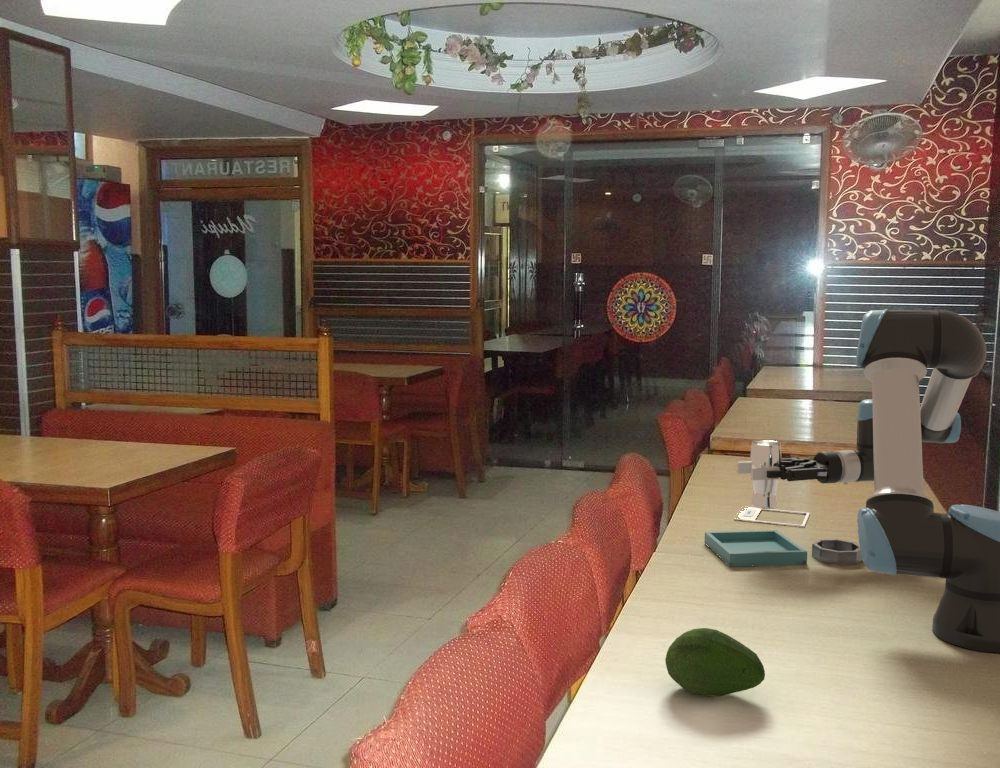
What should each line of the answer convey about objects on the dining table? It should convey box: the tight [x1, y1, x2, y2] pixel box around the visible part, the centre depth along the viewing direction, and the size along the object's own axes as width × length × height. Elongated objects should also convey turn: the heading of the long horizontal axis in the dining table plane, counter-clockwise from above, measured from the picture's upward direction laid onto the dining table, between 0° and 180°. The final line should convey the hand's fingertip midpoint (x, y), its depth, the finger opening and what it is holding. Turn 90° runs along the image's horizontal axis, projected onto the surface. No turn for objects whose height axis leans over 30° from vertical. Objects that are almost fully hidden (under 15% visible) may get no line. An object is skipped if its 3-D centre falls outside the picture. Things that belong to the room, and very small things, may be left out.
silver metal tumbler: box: [749, 439, 782, 509], centre depth 217 cm, size 7×7×15 cm
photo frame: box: [734, 506, 811, 529], centre depth 252 cm, size 15×1×18 cm
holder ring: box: [811, 538, 863, 566], centre depth 216 cm, size 10×10×3 cm
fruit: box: [664, 627, 766, 697], centre depth 145 cm, size 15×10×10 cm, turn 65°
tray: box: [704, 529, 808, 567], centre depth 219 cm, size 18×18×3 cm
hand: (745, 471), depth 216 cm, fingers closed on silver metal tumbler, 7 cm apart
